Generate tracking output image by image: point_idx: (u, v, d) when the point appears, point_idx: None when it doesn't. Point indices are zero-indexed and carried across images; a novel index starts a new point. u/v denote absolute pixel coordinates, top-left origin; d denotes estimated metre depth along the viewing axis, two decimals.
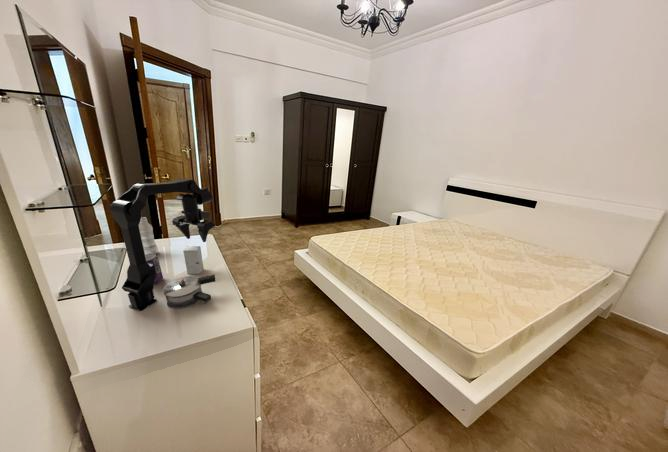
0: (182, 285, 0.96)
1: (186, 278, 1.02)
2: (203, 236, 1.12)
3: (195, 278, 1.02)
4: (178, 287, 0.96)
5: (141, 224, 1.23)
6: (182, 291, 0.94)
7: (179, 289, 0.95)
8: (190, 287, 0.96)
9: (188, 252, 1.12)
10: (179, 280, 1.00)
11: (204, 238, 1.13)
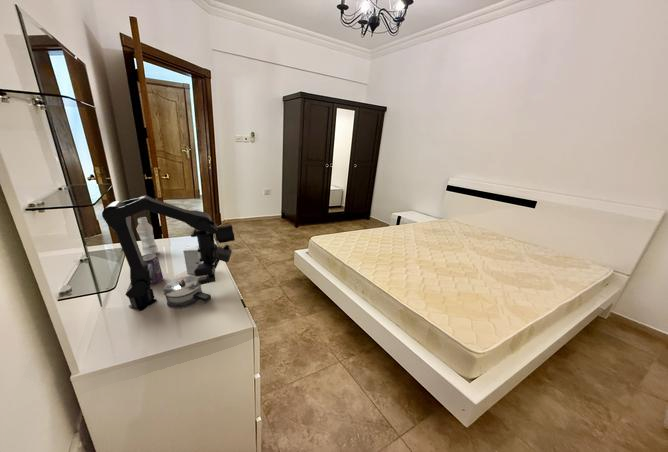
0: (182, 285, 0.96)
1: (186, 278, 1.02)
2: None
3: (195, 278, 1.02)
4: (178, 287, 0.96)
5: (141, 224, 1.23)
6: (182, 291, 0.94)
7: (179, 289, 0.95)
8: (190, 287, 0.96)
9: (188, 252, 1.12)
10: (179, 280, 1.00)
11: None
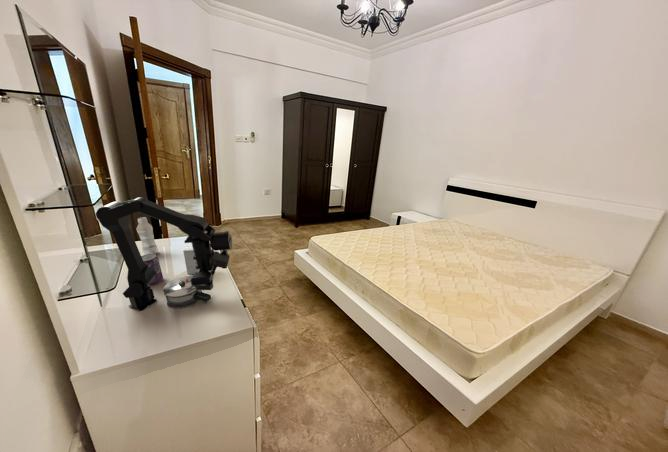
0: (181, 285, 0.96)
1: None
2: None
3: None
4: (178, 286, 0.97)
5: (141, 224, 1.23)
6: (176, 291, 0.93)
7: (175, 289, 0.95)
8: (185, 289, 0.95)
9: (188, 252, 1.12)
10: None
11: None
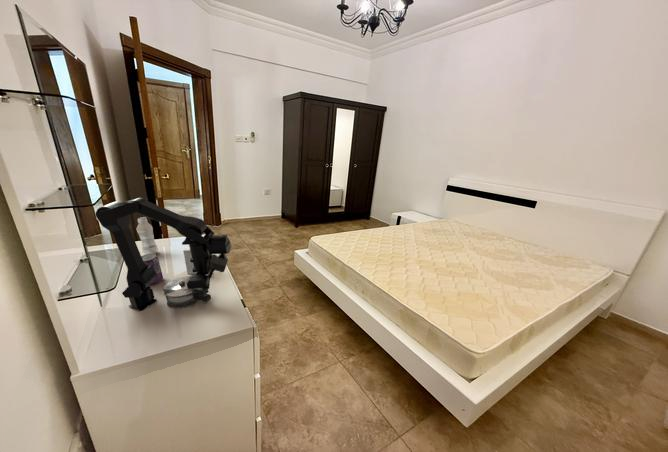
0: (180, 285, 0.96)
1: None
2: None
3: None
4: (178, 285, 0.97)
5: (141, 224, 1.23)
6: (173, 291, 0.94)
7: (174, 288, 0.95)
8: (181, 290, 0.94)
9: (188, 252, 1.12)
10: (188, 279, 1.01)
11: None
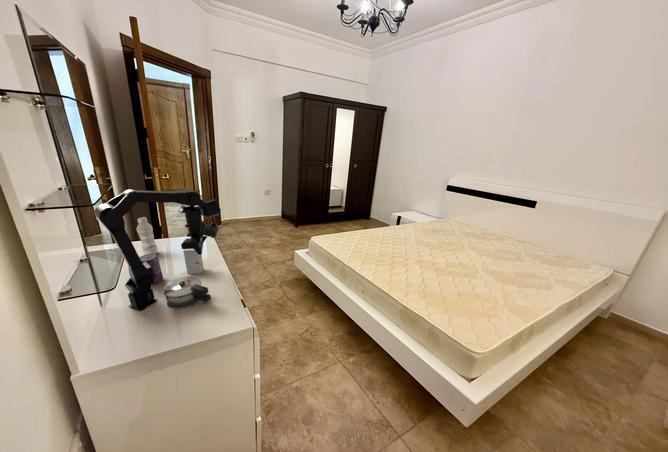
0: (180, 285, 0.96)
1: (194, 279, 1.01)
2: (195, 248, 1.06)
3: (197, 283, 0.99)
4: (178, 285, 0.97)
5: (141, 224, 1.23)
6: (173, 291, 0.94)
7: (174, 288, 0.95)
8: (181, 290, 0.94)
9: (188, 252, 1.12)
10: (188, 279, 1.01)
11: (197, 251, 1.07)
